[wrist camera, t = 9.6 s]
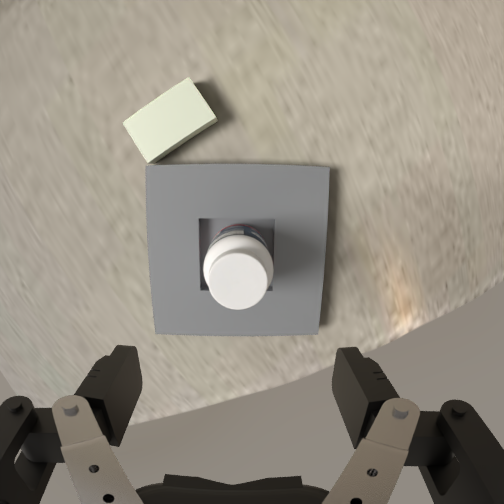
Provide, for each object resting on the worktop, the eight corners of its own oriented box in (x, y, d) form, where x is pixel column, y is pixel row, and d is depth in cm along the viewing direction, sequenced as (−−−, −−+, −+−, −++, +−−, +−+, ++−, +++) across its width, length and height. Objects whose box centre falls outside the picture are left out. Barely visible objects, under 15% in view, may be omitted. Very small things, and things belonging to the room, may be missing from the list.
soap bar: (192, 84, 27) (188, 77, 24) (218, 121, 28) (216, 117, 25) (131, 126, 28) (122, 122, 25) (154, 163, 29) (147, 163, 26)
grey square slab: (324, 167, 29) (329, 167, 27) (314, 326, 33) (318, 334, 31) (150, 165, 28) (145, 165, 26) (159, 325, 32) (155, 333, 30)
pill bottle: (275, 267, 30) (288, 304, 22) (223, 286, 31) (217, 329, 22) (255, 214, 29) (261, 232, 20) (201, 235, 29) (185, 260, 21)
